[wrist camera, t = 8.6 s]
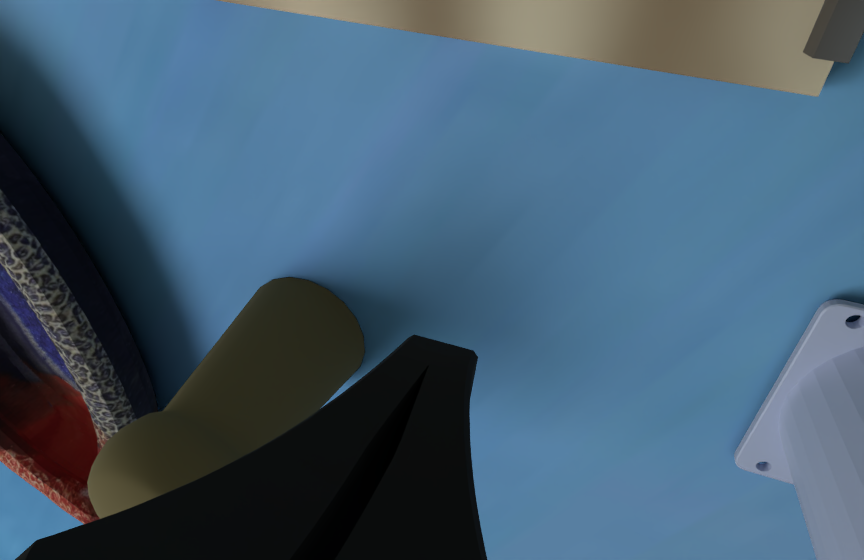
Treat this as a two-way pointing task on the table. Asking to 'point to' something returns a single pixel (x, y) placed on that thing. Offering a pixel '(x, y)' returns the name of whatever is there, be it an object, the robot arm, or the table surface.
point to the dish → (58, 348)
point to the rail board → (636, 32)
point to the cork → (235, 395)
